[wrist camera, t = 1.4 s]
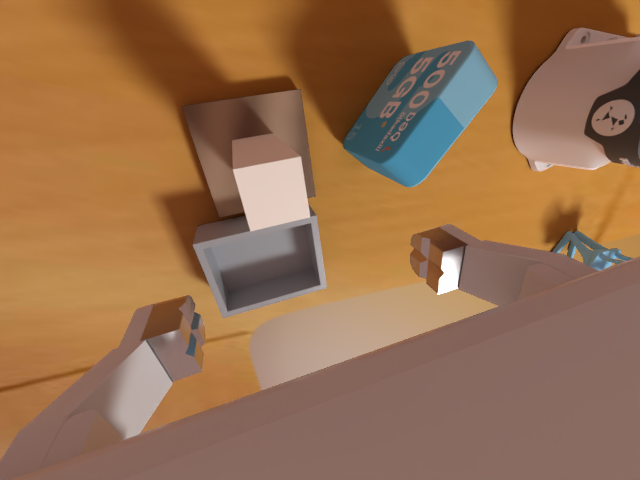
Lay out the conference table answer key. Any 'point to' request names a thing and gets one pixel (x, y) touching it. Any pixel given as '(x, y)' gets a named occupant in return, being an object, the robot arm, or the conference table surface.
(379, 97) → the data package
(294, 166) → the strut
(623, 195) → the conference table surface
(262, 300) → the bin
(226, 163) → the stud plate
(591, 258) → the light blue frame stand
